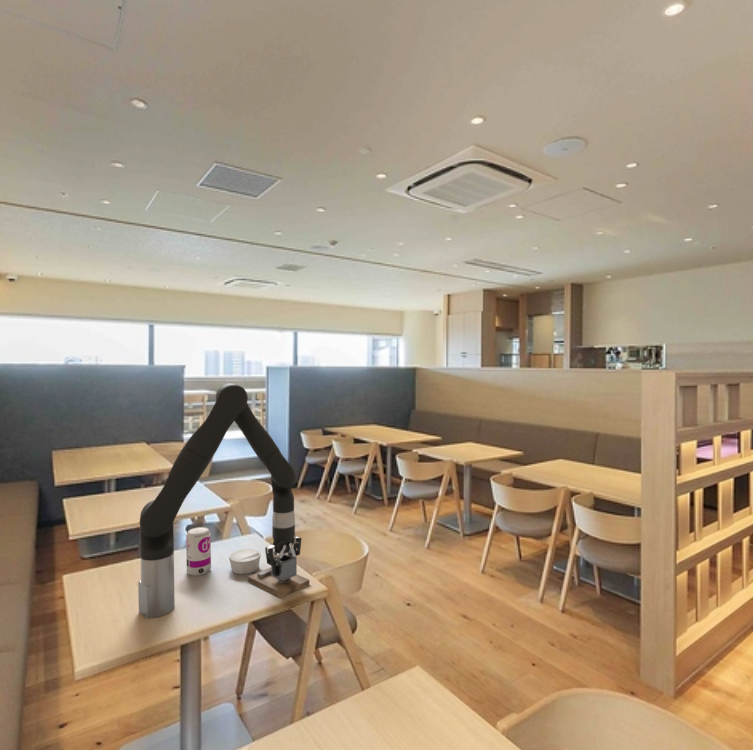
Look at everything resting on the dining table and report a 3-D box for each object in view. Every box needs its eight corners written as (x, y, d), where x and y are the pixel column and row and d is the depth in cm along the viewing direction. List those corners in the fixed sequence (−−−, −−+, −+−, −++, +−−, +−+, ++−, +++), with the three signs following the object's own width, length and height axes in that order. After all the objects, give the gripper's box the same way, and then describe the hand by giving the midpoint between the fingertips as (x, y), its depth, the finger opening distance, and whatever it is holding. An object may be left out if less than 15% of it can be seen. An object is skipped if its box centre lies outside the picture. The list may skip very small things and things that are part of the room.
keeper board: (281, 597, 154) (281, 574, 153) (248, 580, 165) (248, 559, 165) (309, 584, 163) (309, 562, 163) (276, 569, 174) (275, 548, 174)
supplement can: (215, 569, 174) (215, 529, 173) (196, 578, 167) (195, 536, 166) (201, 564, 178) (200, 524, 178) (181, 572, 171) (181, 531, 171)
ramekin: (253, 577, 168) (253, 562, 168) (223, 574, 170) (223, 560, 170) (265, 563, 179) (265, 549, 179) (237, 561, 181) (237, 547, 181)
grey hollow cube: (282, 581, 158) (282, 563, 157) (271, 576, 161) (271, 558, 161) (296, 575, 162) (296, 557, 162) (285, 569, 166) (285, 553, 166)
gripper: (273, 531, 153) (273, 583, 154) (307, 520, 164) (307, 568, 165) (259, 526, 158) (259, 576, 159) (292, 515, 169) (293, 562, 170)
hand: (283, 572), depth 162 cm, fingers closed on grey hollow cube, 6 cm apart
